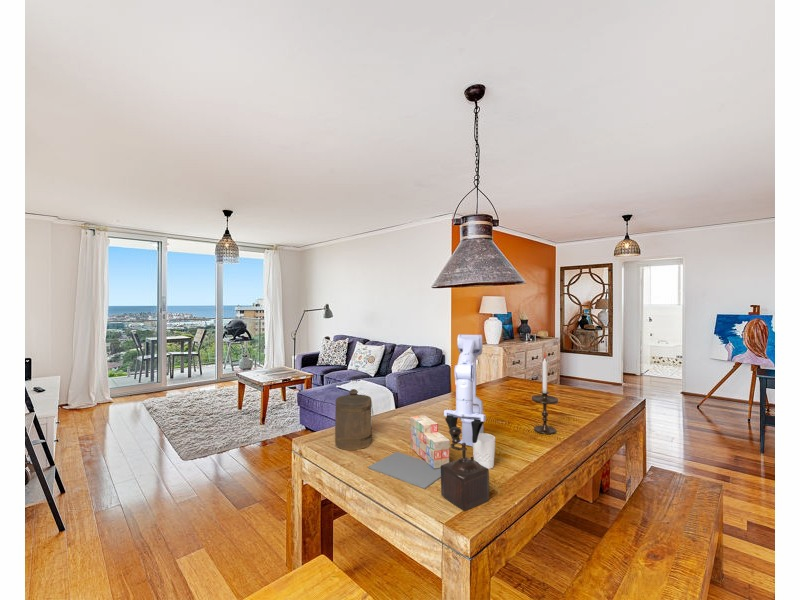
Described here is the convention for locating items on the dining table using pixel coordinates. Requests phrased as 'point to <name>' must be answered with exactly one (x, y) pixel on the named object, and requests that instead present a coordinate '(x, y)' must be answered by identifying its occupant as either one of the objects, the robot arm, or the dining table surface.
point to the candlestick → (544, 403)
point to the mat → (408, 469)
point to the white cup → (484, 450)
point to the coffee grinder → (464, 478)
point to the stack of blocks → (429, 441)
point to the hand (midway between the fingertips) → (464, 440)
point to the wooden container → (353, 421)
